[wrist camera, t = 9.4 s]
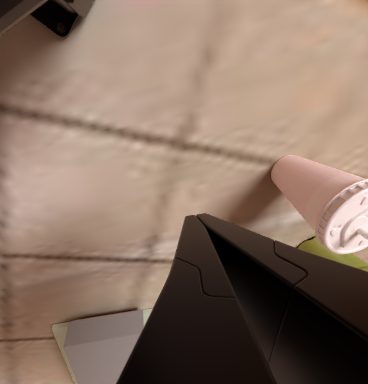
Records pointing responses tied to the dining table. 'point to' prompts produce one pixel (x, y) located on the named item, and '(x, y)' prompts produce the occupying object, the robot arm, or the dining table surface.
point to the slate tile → (102, 345)
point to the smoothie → (326, 201)
